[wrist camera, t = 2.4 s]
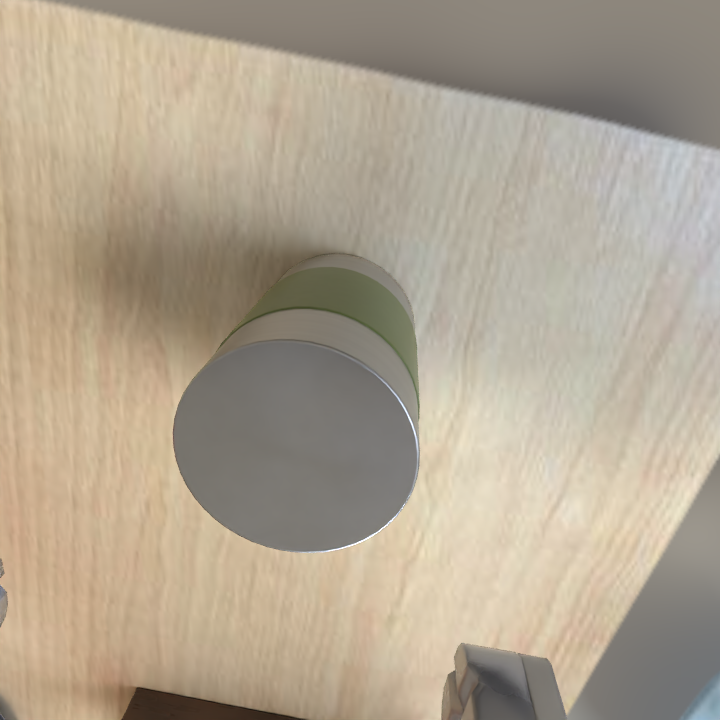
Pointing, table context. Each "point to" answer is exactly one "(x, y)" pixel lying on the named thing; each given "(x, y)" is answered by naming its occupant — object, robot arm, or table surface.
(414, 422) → the can
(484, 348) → the table surface
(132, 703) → the brown wooden block
